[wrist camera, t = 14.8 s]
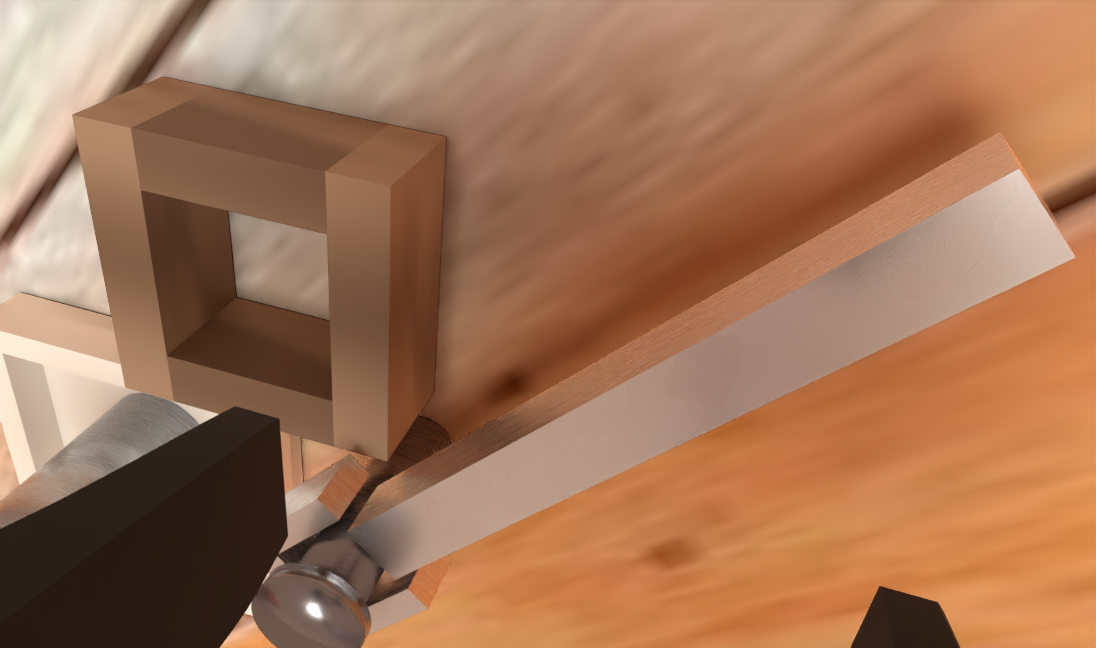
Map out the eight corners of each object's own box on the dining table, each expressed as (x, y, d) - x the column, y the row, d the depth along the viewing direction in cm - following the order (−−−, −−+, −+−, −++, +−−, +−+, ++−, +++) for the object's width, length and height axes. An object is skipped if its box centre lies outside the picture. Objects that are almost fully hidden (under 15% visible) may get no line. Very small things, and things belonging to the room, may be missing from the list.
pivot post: (462, 488, 25) (360, 681, 19) (378, 464, 25) (255, 646, 20) (467, 417, 24) (359, 604, 18) (378, 393, 24) (246, 569, 19)
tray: (309, 582, 29) (281, 624, 28) (76, 510, 31) (38, 546, 29) (296, 366, 24) (261, 403, 23) (20, 292, 26) (-29, 322, 24)
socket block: (433, 390, 23) (387, 461, 21) (195, 328, 25) (125, 387, 22) (446, 137, 19) (390, 186, 17) (162, 76, 21) (72, 115, 18)
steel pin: (231, 512, 27) (10, 776, 20) (108, 471, 28) (-152, 713, 20) (224, 402, 25) (-30, 656, 17) (89, 361, 26) (-212, 589, 18)
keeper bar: (372, 596, 23) (344, 644, 22) (274, 500, 22) (238, 544, 21) (1083, 263, 14) (1110, 312, 12) (964, 74, 13) (980, 107, 12)
